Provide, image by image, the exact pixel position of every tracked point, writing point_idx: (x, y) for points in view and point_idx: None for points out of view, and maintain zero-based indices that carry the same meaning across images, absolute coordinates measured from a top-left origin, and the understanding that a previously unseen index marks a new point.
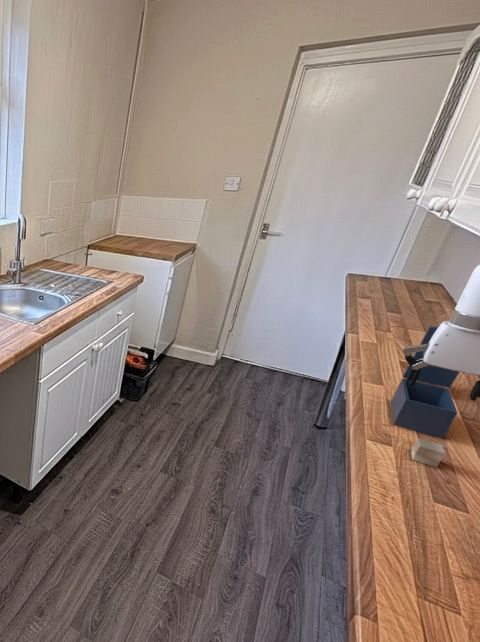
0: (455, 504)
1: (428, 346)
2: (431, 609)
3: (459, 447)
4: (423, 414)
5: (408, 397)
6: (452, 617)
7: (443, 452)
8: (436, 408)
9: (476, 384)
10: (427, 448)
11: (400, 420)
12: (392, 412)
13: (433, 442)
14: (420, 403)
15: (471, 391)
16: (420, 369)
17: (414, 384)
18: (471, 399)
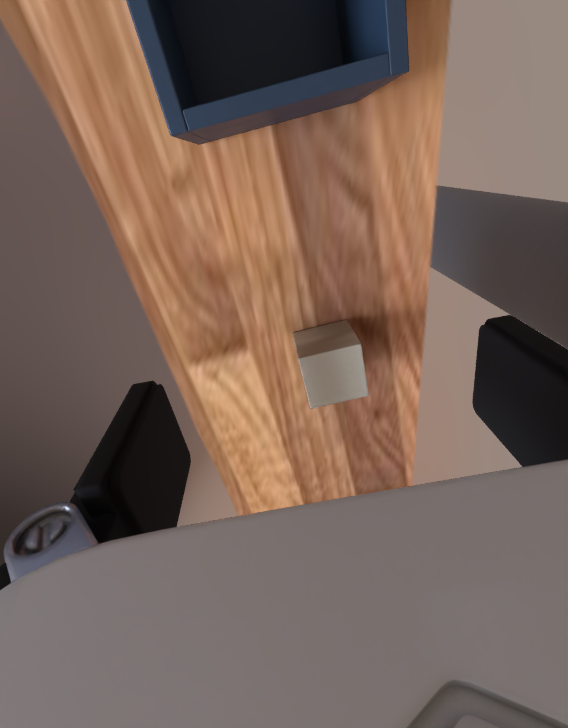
0: (389, 482)
1: None
2: None
3: (407, 137)
4: (272, 116)
5: (165, 66)
6: None
7: (365, 393)
8: (315, 98)
9: (554, 430)
10: (328, 404)
11: (209, 138)
12: None
13: (338, 349)
14: (239, 117)
15: (500, 343)
16: (137, 522)
17: (188, 465)
18: (477, 409)
